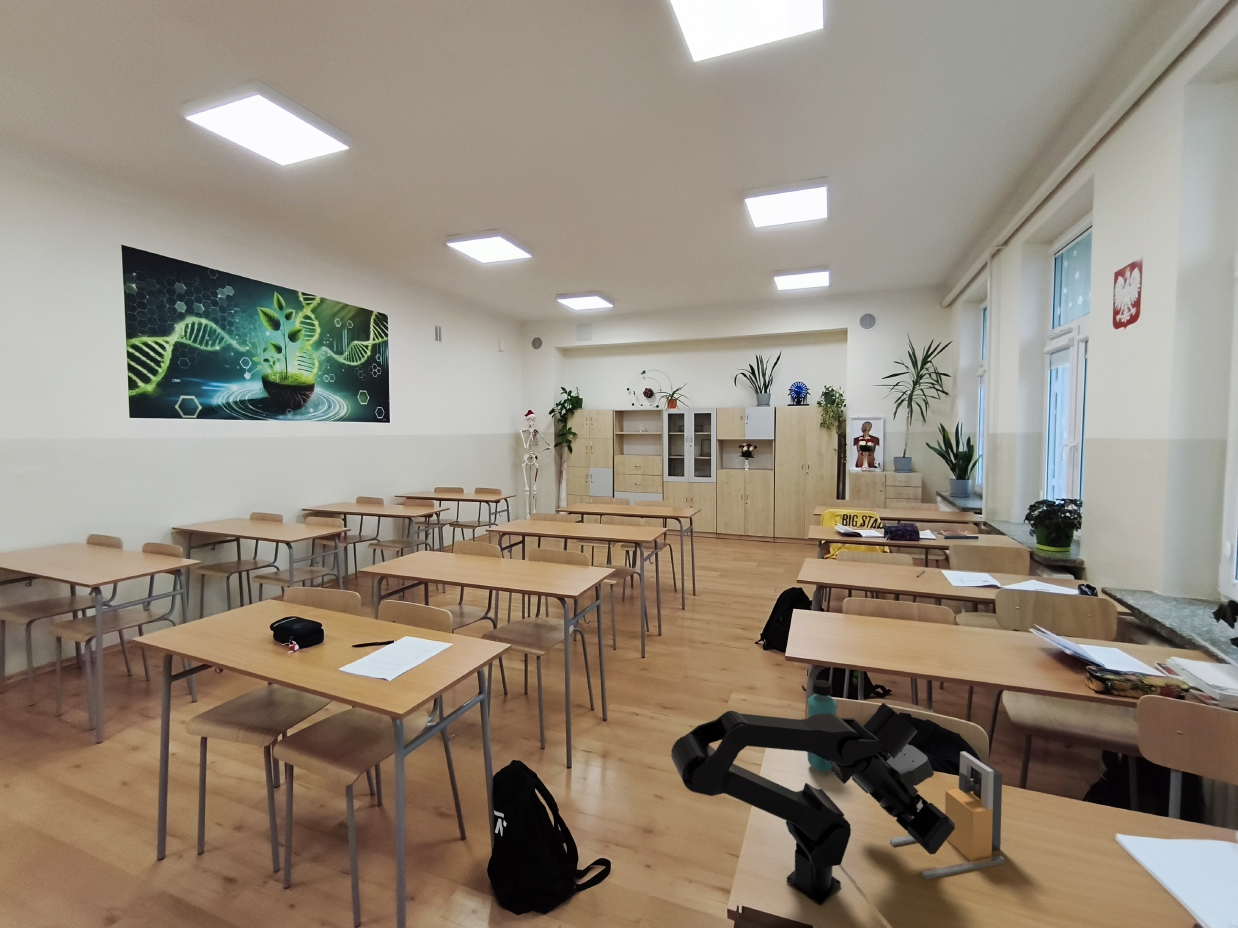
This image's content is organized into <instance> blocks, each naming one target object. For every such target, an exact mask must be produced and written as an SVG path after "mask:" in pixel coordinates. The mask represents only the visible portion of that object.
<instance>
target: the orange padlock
mask: <svg viewBox="0 0 1238 928" xmlns="http://www.w3.org/2000/svg"><path fill="white" fill-rule="evenodd" d="M984 764H985V763H983V762H981V761H980V760H978V759H977V758H975V757H974V756H973V755H971V754H970V753H968V752H967V751H965V750H964V751H960V752H959V773H963V774H965V775H966V776H968V780H967V781H969V780H972V777H971V776H972V768H973V769H974V768H975V769H976V770H977V771H979V772H980V773H982V781H981V800H980V799H979V798H978V797H976V796H975V795H974V794H973V792H967V793H964V792H962V791H961V790H960V789H959V787H957V788H953V789H946V790H945V793H944V794H945V799H944V801H945V802H944V814H945V815H947V816H948V817H949V818H950V819H951V820H952V821H953V822H954V824H955V829H954V830H953V832H952V833H951V834H950V836H949V837H948V838H947V839H946V841H947V842H948V843H950V844H951V845H952V846H953V847H954V848H955V849H956V850H957V851H958V852H959V853H960V854H962V855H963V856H964V857H965V858H966V859H967V860H969V862H970V861H975V860H980V859H985V858H990V857H993V854H992V853H993V851H992V818H993V777H994V771H993V770H992V769H990V768H989V767H987V766H986V765H984Z"/></svg>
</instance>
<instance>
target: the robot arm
mask: <svg viewBox="0 0 1238 928" xmlns="http://www.w3.org/2000/svg"><path fill="white" fill-rule="evenodd" d="M917 732H918V730H917V729H916V728H915V726H913V724H912V723H910V722H909V721H907V720H906V719H904V717H902V716H900V715H899V714H898V713H897V712H896V711H895V710H894V709H893V708H891V706H889V705H888V704H886V703H884V702H882V703H881V704H880V705H879V707H877V709H876V711H875V713H873V715H872V716H871V717H870V718H869V720H868V721H867V722H866V723H865V724H864V725H862V723H861V722H859V721H858V720H857V719H855V718H851V717H850V718H849V717H840V716H838V714H837V715H835V714H831V713H828V714H816V715H812V716H811V717H809V718H808V717H807V718H802V719H799V718H798V719H797V718H789V717H788V718H787V717H779V716H777V717H776V716H770V715H769V716H767V715H758V714H751V713H750V714H747V713H742V712H741V713H740V712H737V711H735V710H728V711H725V712H723V713H722V714H721V715H720V716H718V717H717V718H716V719H714V720H711V721H708V722H705V723H702V724H699V725H697V726H695V727H694V728H692V730H691V731H689V732H688V733H686V734H685V735H683V736H681V737H679V738H678V739H676V741H675V742H674V743H673V746H672V748H671V755H670V757H671V760H672V762H673V764H674V767H675V768H676V771H677V773H678V774H679V777H680V778H681V781H682V782H683V784H684V786H685V788H687V790H689V791H690V792H692V793H694V794H699V795H704V796H708V797H715V796H719V795H722V794H724V795H727V796H730V797H732V798H734V799H736V800H738V801H740V802H743V803H746V804H747V805H750V806H752V807H755V808H757V809H758V810H761V811H764V812H766V813H768V814H770V815H772V816H774V817H777V818H778V819H779V818H780V819H782V820H783V821H785V825H786V827H787V831H788V833H789V834H790V835H792V838H794V840H795V850H794V870H793V871H792V872H790V874H788V875H787V877H786V882H787V883H788V884H789V885H791V886H792V887H794V888H795V889H796V890H797V891H799V892H800V893H802V894H803V895H805V896H806V897H808V898H809V899H811V901H813V902H815V903H816V904H817V905H820V906H821V905H822V906H823V904H825V903H826V902H827V900H829V899H830V898H831V897H832V895H833V894H834V893H835V892H837V890H838V889H840V887H841V885H842V883H841V881H840V880H839V879H838V878H836V877H835V876H833V867H835V866H836V867H837V866H840V865H842V862H843V860H844V856H845V853H846V850H847V847H848V845H849V844H848V843H850V842H849V841H850V837H851V834H852V833H851V832H852V831H851V830H852V829H851V823H850V822H849V821H848V819H846V818H845V813H844V812H843V811H842V809H840V808H839V806H838V805H837V804H836V803H835V801H833V800H832V798H831V797H830V796H829V795H828V794H827V793H826V792H825V791H824V790H823V788H816V787H813V785H810V784H809V783H807V782H805V783H804V785H803V788H802V789H801V790H798V791H795V790H792V789H790V788H788V787H785V786H783V785H781V784H779V783H777V782H774V781H772V780H771V779H768V778H765V777H764V776H762V775H759V774H757V773H755V772H753V771H750V770H748V769H746V768H743V767H741V766H739V765H737V764H735V763H734V762H735V760H736V759H737V757H738V755H739V753H740V752H741V751H742V750H744V749H745V748H746V747H753V748H765V749H774V750H785V751H786V750H787V751H795V752H796V751H797V752H806V753H807V752H810V753H813V754H815V755H817V756H819V757H821V758H823V759H825V760H827V761H830V762H833V764H832V766H831V771H830V772H832V774H833V775H834V776H836V778H837V779H838V780H839V782H841V783H842V784H844V785H846V784H847V782H849V780H852V781H853V782H854V783H855V784H856V785H857V786H858V787H859V788H860V789H861V790H863V792H864V793H866V794H869V795H870V797H872V798H873V799H874V800H875V802H877V803H878V805H879V806H880V807H881V808H882V809H883V810H884V811H885V812H886V813H887V814H888V815H890V816H891V817H893V818H895V822H896V823H898V825H899V826H900V827H902V828H903V830H905V831H906V832H907V834H908V835H911V836H912V837H913V838H914V839H915V840H916V841H917V842H916V843H918V844H919V845H920V846H921V847H922V848H923V849H924V850H925V852H927V853H928V854H929V855H936V853H938V851H939V850H940V848H941V847H942V846H943V844H944V843H945V842H946V841H947V840H946V839H947V838H948V837H949V836H950V834H951V833H952V832H953V830H954V829H955V824H954V822H953V821H952V820H951V819H950V818H949V817H948V816H947V815H945V812H943V811H942V810H941V809H940V808H938V807H937V805H935V804H934V803H933V802H929V801H928V800H926V799H925V798H924V797H923V796H922V795H921V794H919V793H918V792H919V790H918V789H917V788H916V787H915V786H918V785H920V784H921V783H923V782H925V781H926V780H928V779H931V778H932V777H933V776H934V775H935V772H934V770H933V768H932V764H931V762H930V760H929V758H928V755H926V754H925V753H923V752H922V751H921V750H919V749H918V748H916V747H915V746H913V745H911V744H908V743H909V742H910V741H911V740H912V739H913V737H914V736H915V735H916V734H917ZM719 741H720V743H719V744H718V746H717V748H716V749H715V748H714V747H712V746H711V745H710V744H712V743H716V742H719ZM879 752H880V753H881V754H882V755H884V757H886V760H885V759H884V758H883V756H880V755H879V754H878V753H879Z"/></svg>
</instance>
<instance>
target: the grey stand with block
mask: <svg viewBox="0 0 1238 928" xmlns="http://www.w3.org/2000/svg"><path fill="white" fill-rule="evenodd" d="M983 764H984V765H986V766H987V767H989V768H990V769H992V770H993V771H994V777H993V818H992V852H995V851H999V850H1001V836H1002V835H1001V834H1002V833H1001V832H1002V802H1003V800H1002V798H1003V797H1002V795H1003V794H1002V793H1003V773H1002V772H1001V771H999V770H998V769H996V768H995V767H993V766H992V765H991V764H989V763H983ZM972 774H973V779H971V780H969V781H967V780H968V776H966V775H965V774H963V773H960V772H959V773H958V788H959V789H960V790H961V791H962V792H964V793H967V792H971V793H972V794H974V795H975V796H976V797H978V798H979V799H980V800H981V781H982V773H980V772H979V771H977V770H976V769H975V768H973V773H972ZM913 843H918V842H917V841H916V840H915V839H914V838H913V837H912V836H911V835H910V834H908V835H904V836H899V837H893V838H890V839H889V844H890V845H892V847H896V846H900V845H906V844H913ZM1005 860H1006V859H1005V857H1003V856H1002V855H996V856H992V857H990V858H985V859H980V860H975V861H970V860H969V861H967V862H962V863H957V864H952V865H946V866H942V867H938V868H937V867H936V868H932V869H927V870H922V871H921V877H922V878H923V879H924V880H929V879H934V878H935V879H936V878H939V877H943V876H948V875H953V874H958V873H962V872H963V873H964V872H968V871H973V870H978V869H982V868H987V867H992V866H995V865H996V866H997V865H1001V864H1005V862H1006V861H1005Z"/></svg>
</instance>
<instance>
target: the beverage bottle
mask: <svg viewBox="0 0 1238 928" xmlns="http://www.w3.org/2000/svg"><path fill="white" fill-rule="evenodd" d="M812 693H813V694H812V695H811V696H809V698H808V699H807V718H809V717H811V716H812V715H816V714H828V713H831V714H835V715H837V716H838V703H837V701H836V700H835V699H834V698H833V697H831V695H833V687H832V683H831V682H829V681H828V680H825V679H816V680H813V683H812ZM806 756H807V761H808V764H809V765H810V766H811V767H812V768H814V769H815V770H818V771H821V772H832V771H831V766H832V764H833V762H830V761H827V760H825V759H823V758H821V757H819V756H817V755H815V754H813V753H810V752H806Z"/></svg>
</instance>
